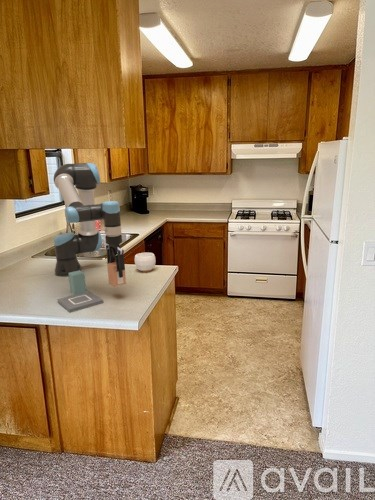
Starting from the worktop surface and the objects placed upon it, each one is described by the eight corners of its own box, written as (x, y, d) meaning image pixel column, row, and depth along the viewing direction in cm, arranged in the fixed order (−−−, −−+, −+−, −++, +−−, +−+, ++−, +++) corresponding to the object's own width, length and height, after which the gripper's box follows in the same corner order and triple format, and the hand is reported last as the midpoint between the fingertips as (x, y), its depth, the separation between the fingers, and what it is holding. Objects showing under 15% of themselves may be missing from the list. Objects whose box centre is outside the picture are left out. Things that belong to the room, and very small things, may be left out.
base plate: (57, 302, 169) (57, 299, 169) (89, 293, 179) (89, 290, 178) (69, 312, 157) (69, 309, 156) (103, 302, 166) (103, 299, 166)
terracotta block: (108, 283, 172) (107, 263, 170) (120, 280, 176) (118, 261, 173) (114, 286, 168) (112, 266, 165) (125, 283, 171) (124, 263, 169)
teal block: (70, 291, 183) (68, 272, 180) (81, 288, 186) (79, 270, 184) (75, 294, 178) (72, 275, 176) (86, 291, 182) (84, 272, 179)
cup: (156, 267, 219) (155, 251, 216) (155, 273, 207) (154, 257, 205) (136, 267, 219) (135, 252, 216) (134, 274, 207) (133, 258, 204)
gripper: (97, 232, 170) (101, 278, 177) (115, 239, 156) (119, 288, 162) (111, 230, 175) (115, 275, 181) (130, 236, 160) (134, 285, 167)
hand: (117, 281), depth 172 cm, fingers closed on terracotta block, 6 cm apart
